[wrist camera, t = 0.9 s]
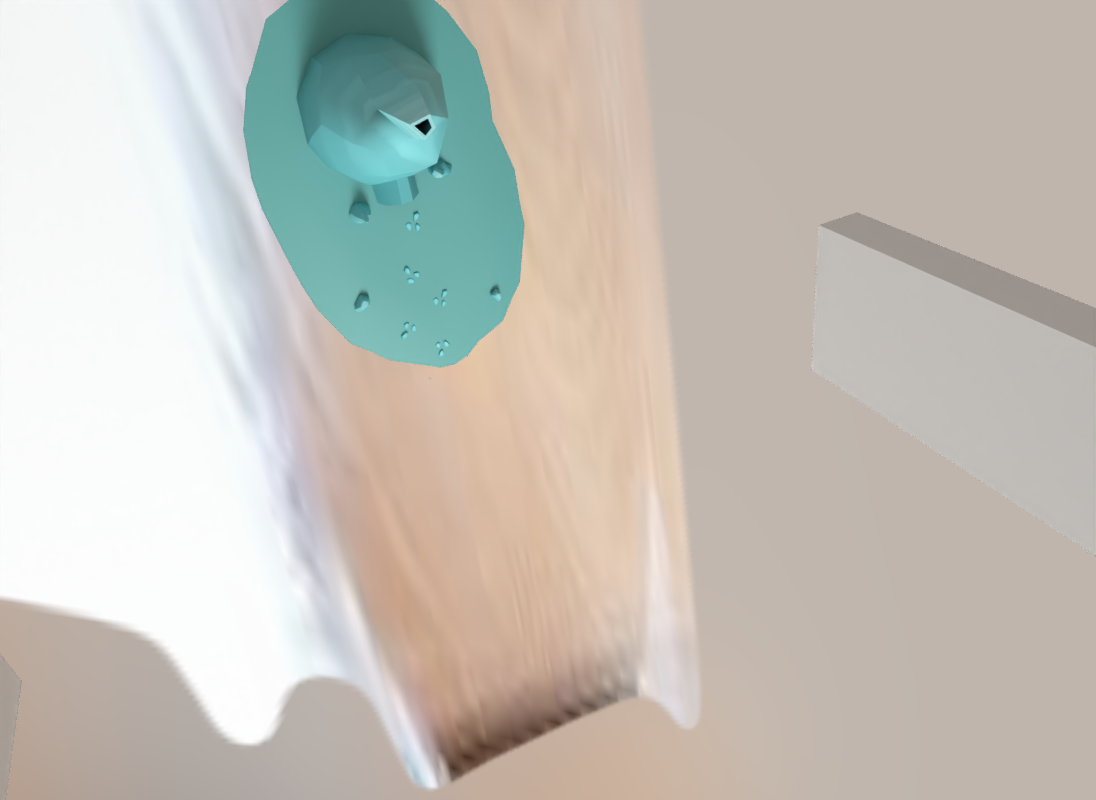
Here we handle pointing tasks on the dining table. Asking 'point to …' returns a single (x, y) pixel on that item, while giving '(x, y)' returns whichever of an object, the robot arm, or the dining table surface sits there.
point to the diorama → (385, 174)
